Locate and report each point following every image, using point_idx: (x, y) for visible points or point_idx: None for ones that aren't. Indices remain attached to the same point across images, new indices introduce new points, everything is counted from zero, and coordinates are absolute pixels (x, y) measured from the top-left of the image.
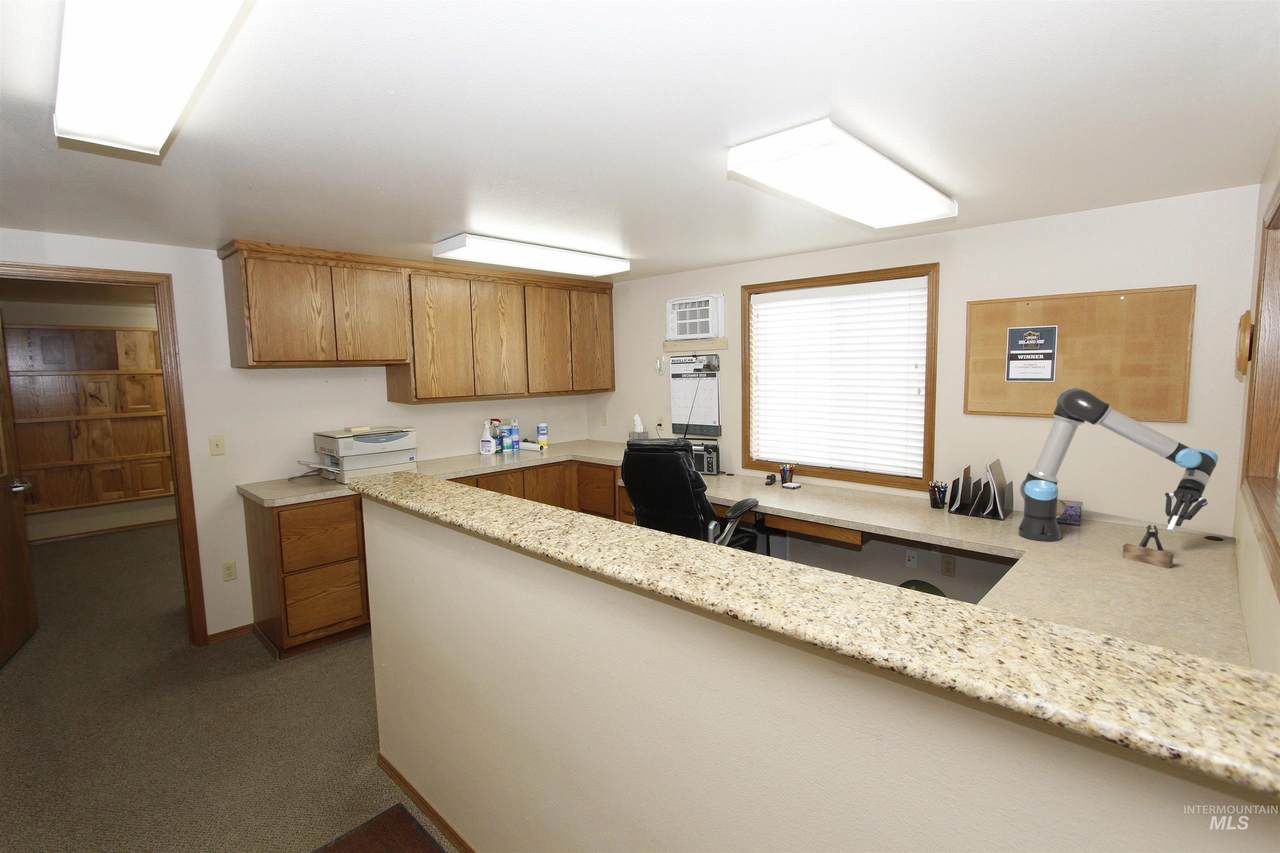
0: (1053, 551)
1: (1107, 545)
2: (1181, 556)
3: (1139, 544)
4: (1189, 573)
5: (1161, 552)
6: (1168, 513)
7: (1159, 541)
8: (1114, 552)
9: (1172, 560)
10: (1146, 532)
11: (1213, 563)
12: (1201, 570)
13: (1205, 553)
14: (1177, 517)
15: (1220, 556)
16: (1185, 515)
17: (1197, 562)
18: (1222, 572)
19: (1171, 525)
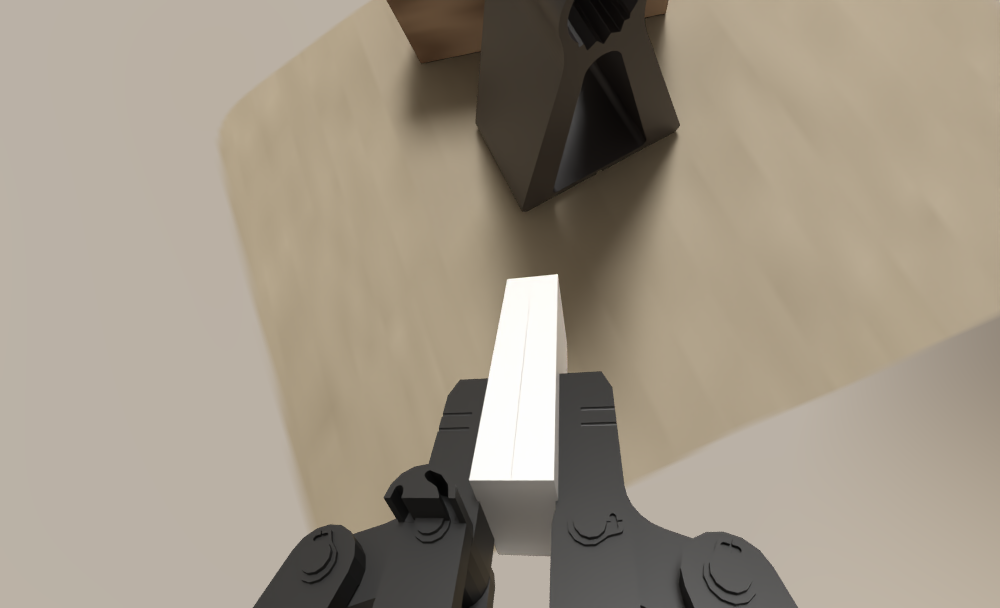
0: None
1: (905, 125)
2: (474, 315)
3: (667, 92)
4: (335, 38)
5: None
6: (685, 556)
7: (500, 30)
8: (755, 15)
9: (403, 25)
10: (644, 25)
11: (319, 327)
12: (317, 137)
13: None
14: (479, 452)
15: None
16: (370, 583)
17: (375, 267)
18: (250, 196)
19: (526, 313)
